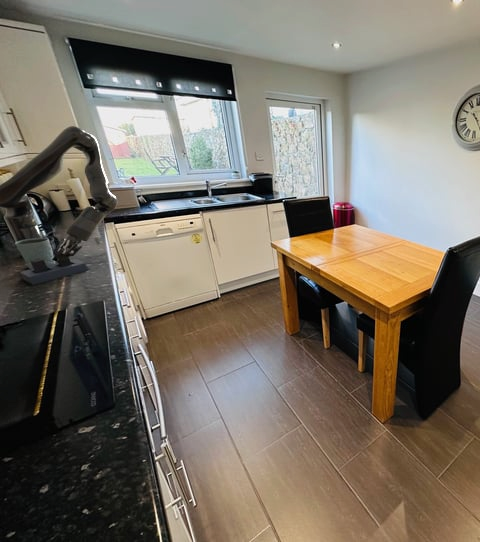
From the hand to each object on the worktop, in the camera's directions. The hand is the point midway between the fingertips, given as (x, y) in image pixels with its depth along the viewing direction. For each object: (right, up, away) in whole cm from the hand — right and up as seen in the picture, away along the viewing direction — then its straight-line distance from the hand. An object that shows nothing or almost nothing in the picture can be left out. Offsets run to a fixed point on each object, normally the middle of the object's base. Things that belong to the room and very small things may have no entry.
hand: (57, 261), depth 121 cm
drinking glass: (-17, -2, +9) cm, 19 cm away
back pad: (+1, -3, +3) cm, 5 cm away
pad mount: (-1, -6, +1) cm, 6 cm away
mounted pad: (-3, -7, -2) cm, 8 cm away
